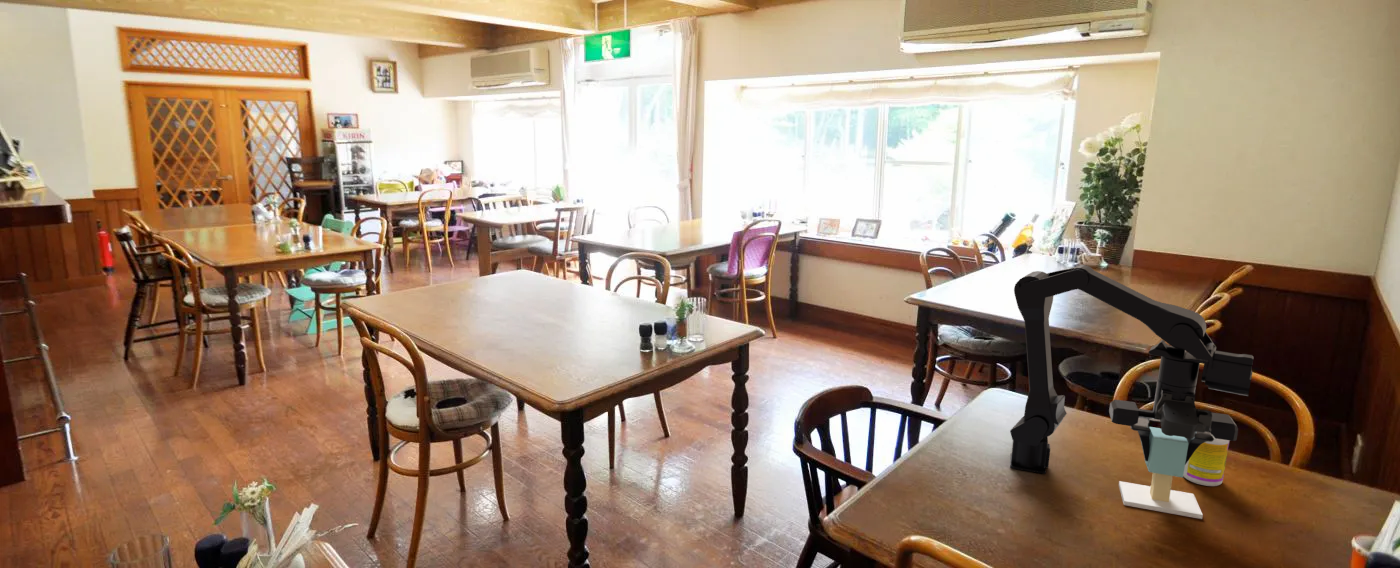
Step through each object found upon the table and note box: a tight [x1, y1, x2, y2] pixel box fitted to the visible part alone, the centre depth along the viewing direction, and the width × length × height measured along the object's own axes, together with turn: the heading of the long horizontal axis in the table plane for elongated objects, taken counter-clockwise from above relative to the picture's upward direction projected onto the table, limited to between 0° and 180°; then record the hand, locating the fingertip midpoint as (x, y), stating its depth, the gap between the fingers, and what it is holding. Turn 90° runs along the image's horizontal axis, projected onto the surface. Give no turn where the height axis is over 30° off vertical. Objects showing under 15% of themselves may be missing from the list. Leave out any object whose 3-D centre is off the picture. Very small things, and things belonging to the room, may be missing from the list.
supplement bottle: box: [1183, 435, 1230, 487], centre depth 139 cm, size 7×7×13 cm
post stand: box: [1118, 473, 1204, 520], centre depth 131 cm, size 12×8×6 cm, turn 66°
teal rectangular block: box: [1144, 426, 1189, 479], centre depth 130 cm, size 5×5×7 cm
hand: (1163, 463), depth 131 cm, fingers closed on teal rectangular block, 5 cm apart
